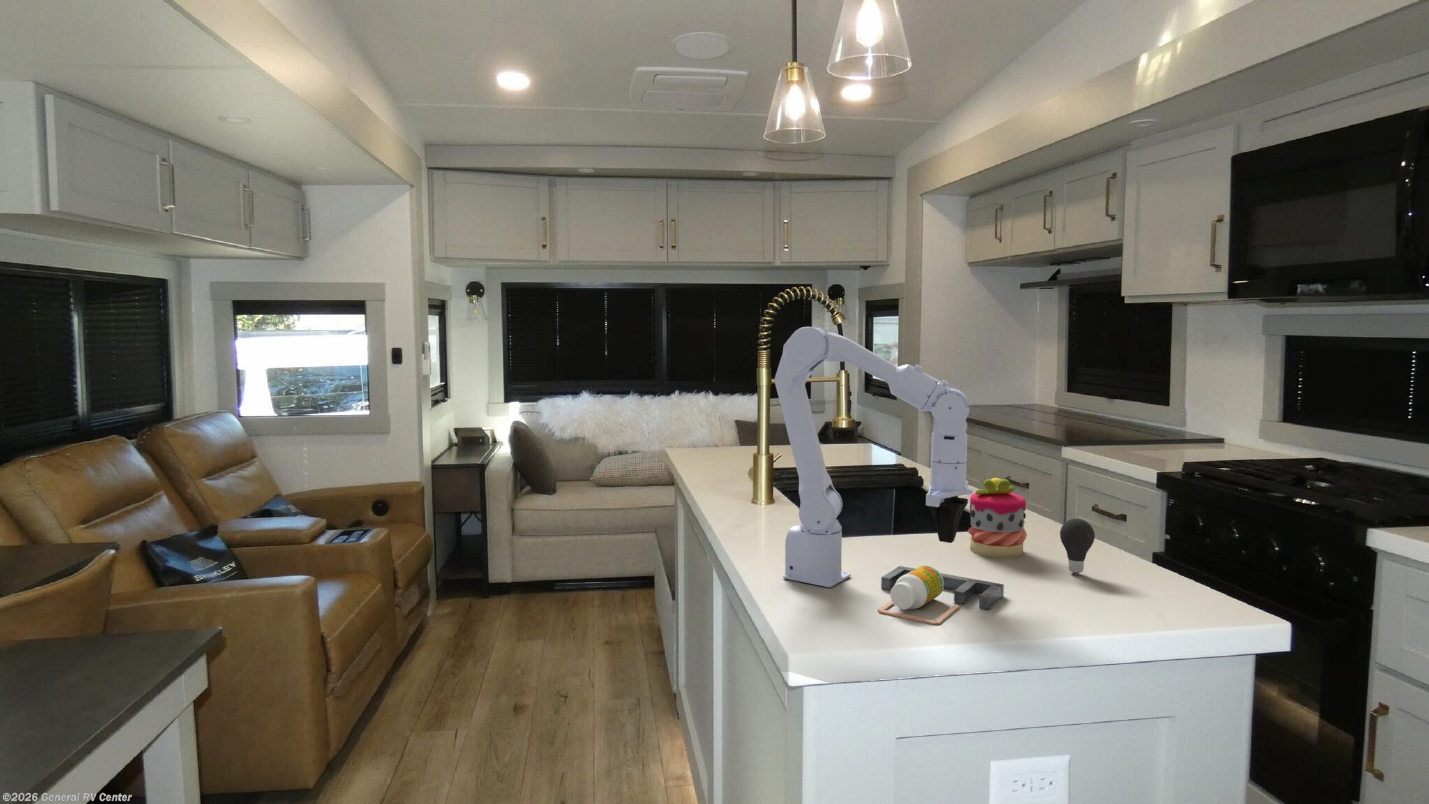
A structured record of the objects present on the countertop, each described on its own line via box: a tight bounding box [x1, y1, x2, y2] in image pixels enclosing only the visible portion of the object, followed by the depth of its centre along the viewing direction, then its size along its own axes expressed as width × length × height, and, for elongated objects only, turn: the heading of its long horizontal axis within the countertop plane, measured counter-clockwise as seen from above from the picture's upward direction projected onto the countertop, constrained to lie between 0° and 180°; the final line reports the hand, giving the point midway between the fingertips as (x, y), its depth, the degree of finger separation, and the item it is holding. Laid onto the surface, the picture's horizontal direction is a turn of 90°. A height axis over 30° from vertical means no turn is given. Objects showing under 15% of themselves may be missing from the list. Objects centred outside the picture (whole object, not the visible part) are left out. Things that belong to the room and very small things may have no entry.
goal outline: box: [877, 599, 961, 626], centre depth 126 cm, size 10×9×1 cm
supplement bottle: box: [889, 565, 945, 610], centre depth 128 cm, size 5×5×10 cm
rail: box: [880, 565, 1005, 611], centre depth 134 cm, size 18×8×2 cm, turn 54°
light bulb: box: [1059, 518, 1096, 576], centre depth 143 cm, size 6×6×10 cm
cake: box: [967, 477, 1028, 559], centre depth 158 cm, size 10×11×15 cm
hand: (946, 541), depth 135 cm, fingers closed
